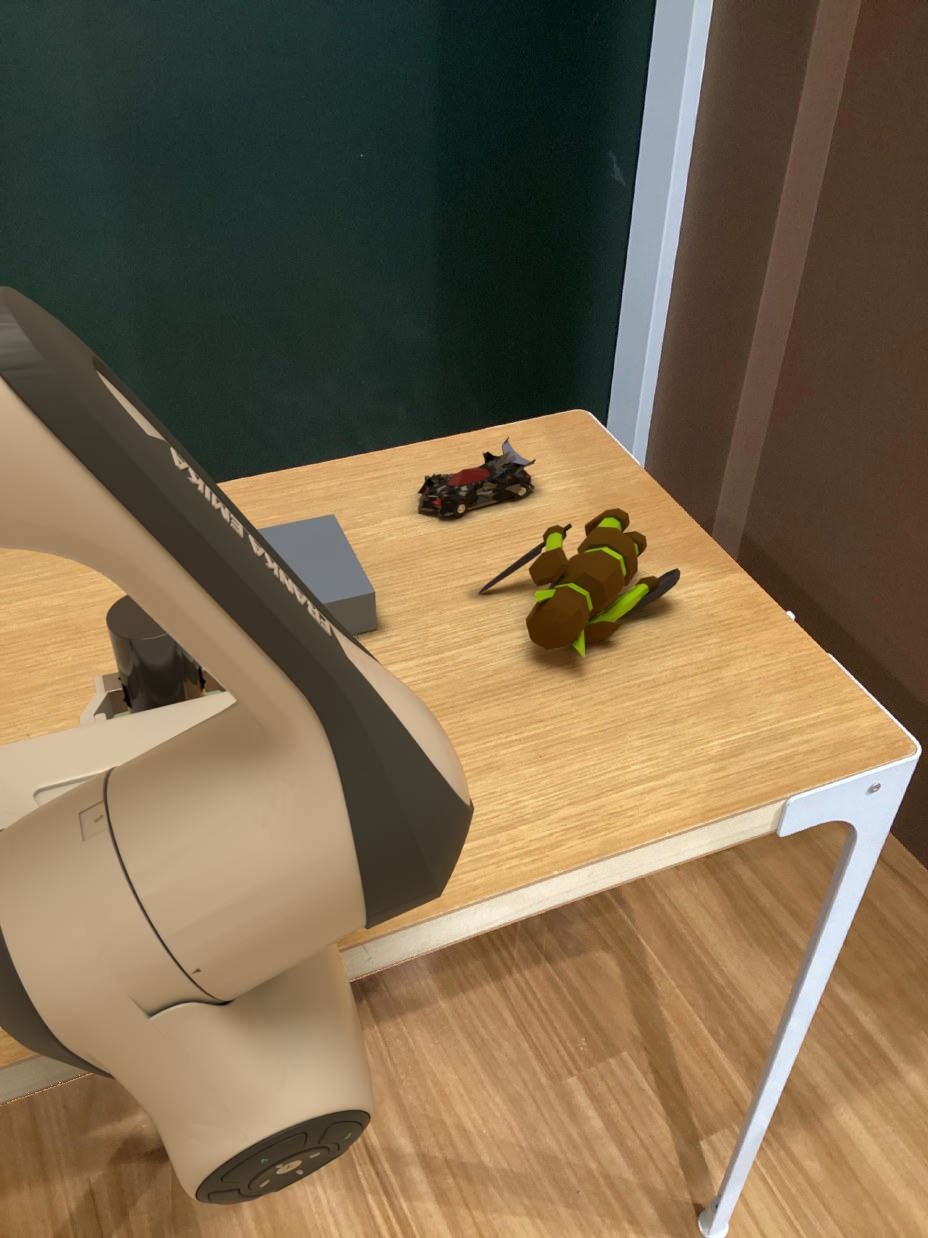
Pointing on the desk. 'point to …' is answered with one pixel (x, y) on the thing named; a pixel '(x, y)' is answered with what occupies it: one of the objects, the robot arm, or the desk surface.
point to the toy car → (477, 484)
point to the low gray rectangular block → (327, 568)
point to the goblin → (587, 582)
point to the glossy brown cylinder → (150, 660)
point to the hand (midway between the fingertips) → (159, 671)
